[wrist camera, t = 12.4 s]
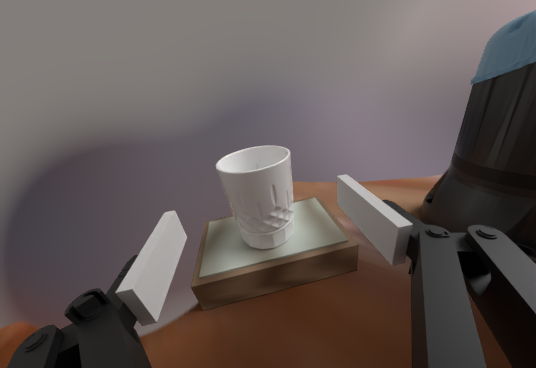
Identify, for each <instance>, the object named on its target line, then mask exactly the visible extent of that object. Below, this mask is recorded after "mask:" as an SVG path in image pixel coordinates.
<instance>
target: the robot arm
mask: <svg viewBox="0 0 536 368" xmlns="http://www.w3.org/2000/svg"><path fill="white" fill-rule="evenodd" d="M471 84H473V86H472V90H471V94H470V97H469V101H468V104H467V108H466V111H465V115H464V118H463V122H462V126H461V129H460V132H459V136H458V140H457V142H456V146H455V150H454V153H453V157H452V160H451V163H450V166H449V168H448V169H447V170H446V171H445V173H444V174H443V175H442V176H441V178H440V179H439V180H438V182H437V183H436V184H435V185H434V187H433V188H432V189H431V190H430V192H429V193H428V194H427V195H426V197H425V199H424V201H423V205H422V209H421V213H420V217H421V221H422V222H421V221H420V220H418V219H417V218H415V217H414V216H413V215H411V214H410V213H408V212H406V211H405V210H404V209H403V208H401V207H400V206H398V205H397V204H395V203H394V202H391V201H388V200H382V201H381V200H380V199H379V198H377V197H376V196H375V195H373V194H372V193H371V192H369V191H368V190H367V189H365V188H364V187H363V186H361V185H360V184H359V183H357V182H356V181H354V180H353V179H352V178H350V177H349V176H348V175H347V174H345V175H341V176H337V205H338V206H339V207H340V208H341V209H342V210H343V212H344V213H345V214H346V215H347V216H348V217H349V218H350V219H351V221H352V222H353V223H354V224H355V225H356V226H357V227H358V228H359V230H360V231H361V232H362V233H363V234H364V235H365V236H366V237H367V239H368V240H369V241H370V242H371V243H372V244H373V245H374V246H375V248H376V249H377V250H378V251H379V252H380V253H381V254H382V255H383V257H384V258H385V259H386V260H387V261H388V262H389V263H390V264H391V266H393V265H397V264H401V263H404V262H405V258H406V255H407V256H408V257H409V258H410V259H411V260H412V261H411V265H410V269H409V273H408V274H411V323H412V368H487V366H486V362H485V358H484V355H483V351H482V347H481V343H480V339H479V335H478V331H477V328H476V324H475V320H474V316H473V312H472V308H471V304H470V301H469V297H468V293H467V291H468V292H469V294H470V296H471V297H472V299H473V301H474V303H475V304H476V306H477V308H478V309H479V311H480V313H481V314H482V316H483V318H484V319H485V321H486V323H487V325H488V326H489V328H490V330H491V331H492V333H493V335H494V336H495V338H496V340H497V342H498V343H499V345H500V347H501V348H502V350H503V352H504V353H505V355H506V357H507V358H508V360H509V362H510V364H511V365H512V367H513V368H536V10H535V11H533V12H530V13H528V14H525V15H523V16H521V17H519V18H516V19H515V20H513V21H511V22H509V23H507V24H506V25H504V26H503V27H502V28H500V29H499V30H498V31H497V32H496V33H495V34H494V35H493V36H492V37H491V38H490V40H489V41H488V43H487V45H486V47H485V50H484V53H483V55H482V58H481V61H480V64H479V66H478V69H477V72H476V75H475V77H474V78H473V79H472V80H471ZM186 239H187V236H186V234H185V232H184V230H183V227H182V225H181V223H180V221H179V219H178V217H177V214H176V212H175V210H174V211H169V212H165V213H164V215H163V216H162V218H161V220H160V221H159V223H158V224H157V226H156V228H155V229H154V231H153V232H152V234H151V236H150V237H149V239H148V240H147V242H146V244H145V245H144V247H143V249H142V250H141V252H140V254H139V255H135V256H133V257H132V258H131V259H130V260H129V261H128V262H127V263H126V265H125V266H124V268H123V269H122V272H120V274H119V275H118V278H116V280H115V281H114V283H113V284H112V286H111V288H110V289H109V290H108V292H107V294H106V295H105V294H104V293H103V292H102V291H101V290H100V289H92V290H89V291H87V292H85V293H83V294H82V295H80V296H79V297H77V298H76V299H75V300H74V301H73V302H72V303H71V304H70V305H69V306H68V308H67V309H66V311H65V316H66V317H67V318H68V319H69V320H70V321H72V322H73V324H71V325H68V326H66V327H64V328H62V329H58V328H57V327H56V326H54V325H49V326H46V327H43V328H41V329H39V330H38V331H36V332H35V333H33V334H32V335H30V336H29V337H28V338H27V339H26V340H24V342H23V343H22V344H21V345H20V346H19V347H18V348H17V350H16V351H15V353H14V354H13V356H12V358H11V361H10V363H9V365H8V367H7V368H152V367H151V365H150V362H149V360H148V358H147V355H146V353H145V350H144V348H143V346H142V343H141V341H140V339H139V336H138V334H137V332H136V330H135V329H134V328H133V327H134V325H135V323H136V321H137V320H138V321H139V323H140V324H141V325H142V326H144V325H148V324H152V323H156V322H157V321H158V318H159V315H160V312H161V310H162V307H163V304H164V301H165V298H166V295H167V292H168V290H169V287H170V284H171V281H172V279H173V276H174V273H175V270H176V267H177V264H178V261H179V259H180V256H181V253H182V250H183V247H184V245H185V242H186Z"/></svg>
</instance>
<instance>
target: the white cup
mask: <svg viewBox="0 0 536 368" xmlns="http://www.w3.org/2000/svg"><path fill="white" fill-rule="evenodd" d="M216 169H217V172H218V175H219V178H220V180H221V183H222V186H223V189H224V192H225V195H226V197H227V200H228V203H229V205H230V208H231V210H232V213H233V216H234V218H235V221H236V222H237V224H238V227H239V229H240V232H241V235H242V238H243V241H244V242H246V243H247V244H248V245H249V246H250V247H253V248H258V249H269V248H275V247H277V246H279V245H281V244H283V243H285V242H287V240H288V239H289V238H290V237H291V235H292V234H293V229H294V219H293V212H294V207H293V186H292V173H291V159H290V151H289V150H288V149H287V148H285V147H281V146H259V147H252V148H247V149H243V150H239V151H236V152H234V153H231V154H229V155H227V156H225V157H223V158H222V159H220V160H219V161H218V162H217V164H216Z"/></svg>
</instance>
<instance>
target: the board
mask: <svg viewBox="0 0 536 368" xmlns="http://www.w3.org/2000/svg"><path fill="white" fill-rule="evenodd" d="M293 207H294V212H293V219H294V229H293V234H292V235H291V237H290V238H289V239H288V240H287V242H285V243H283V244H281V245H279V246H277V247H275V248H269V249H258V248H253V247H250V246H249V245H248V244H247V243H246V242H244V241H243V238H242V235H241V232H240V229H239V227H238V224H237V222H236V221H235V218H234V216H229V217H225V218H221V219H216V220H212V221H207V222H205V226H204V230H203V235H202V239H201V244H200V248H199V253H198V257H197V262H196V266H195V271H194V276H193V280H192V284H191V288H192V290H193V292H194V294H195V296H196V298H197V300H198V302H199V303H200V305H201V307H202V309H203V310H207V309H211V308H215V307H218V306H222V305H226V304H230V303H234V302H237V301H241V300H245V299H249V298H252V297H256V296H260V295H264V294H268V293H271V292H275V291H279V290H283V289H287V288H290V287H294V286H298V285H302V284H306V283H309V282H313V281H317V280H321V279H325V278H328V277H332V276H336V275H340V274H344V273H347V272H351V271H355V270H357V259H358V244H357V242H356V241H355V240H354V239H353V238H352V236H351V235H350V234H349V233H348V232H347V230H346V229H345V228H344V227H343V225H342V224H341V223H340V222H339V221H338V219H337V218H336V217H335V216H334V215H333V213H332V212H331V211H330V210H329V209H328V207H327V206H326V205H325V204H324V203H323V201H322V200H321V199H320V198H319V196H316V197H312V198H308V199H303V200H299V201H295V202H293Z"/></svg>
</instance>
